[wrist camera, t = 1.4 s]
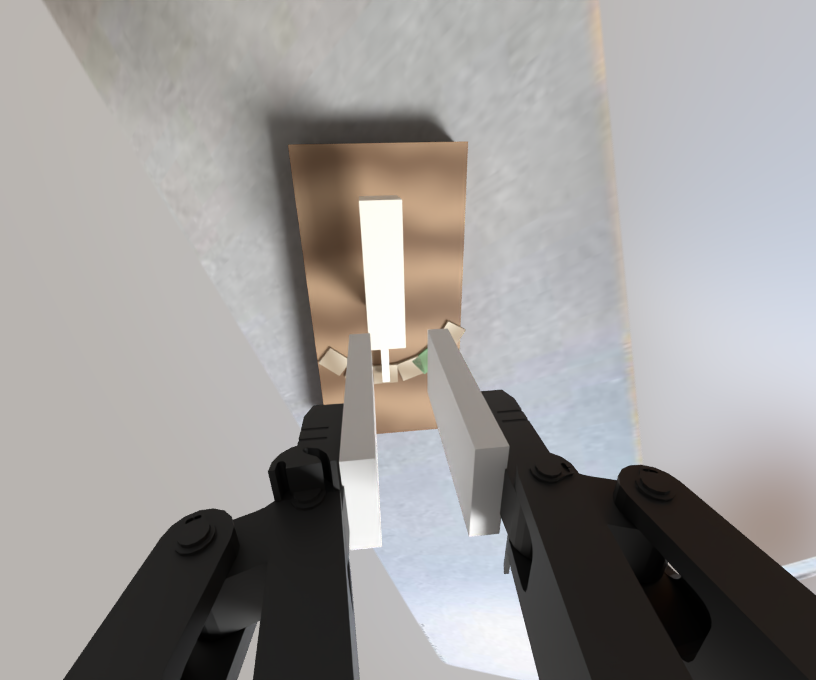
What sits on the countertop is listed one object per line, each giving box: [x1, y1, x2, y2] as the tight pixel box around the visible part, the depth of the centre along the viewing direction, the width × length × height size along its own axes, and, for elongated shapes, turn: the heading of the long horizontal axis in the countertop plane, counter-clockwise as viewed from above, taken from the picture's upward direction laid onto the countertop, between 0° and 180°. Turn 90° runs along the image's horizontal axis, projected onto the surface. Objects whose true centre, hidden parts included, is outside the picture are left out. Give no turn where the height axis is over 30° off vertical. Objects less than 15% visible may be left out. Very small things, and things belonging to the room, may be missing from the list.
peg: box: [359, 195, 406, 382], centre depth 30 cm, size 17×3×9 cm, turn 1°
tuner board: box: [288, 142, 468, 434], centre depth 37 cm, size 28×14×4 cm, turn 1°
